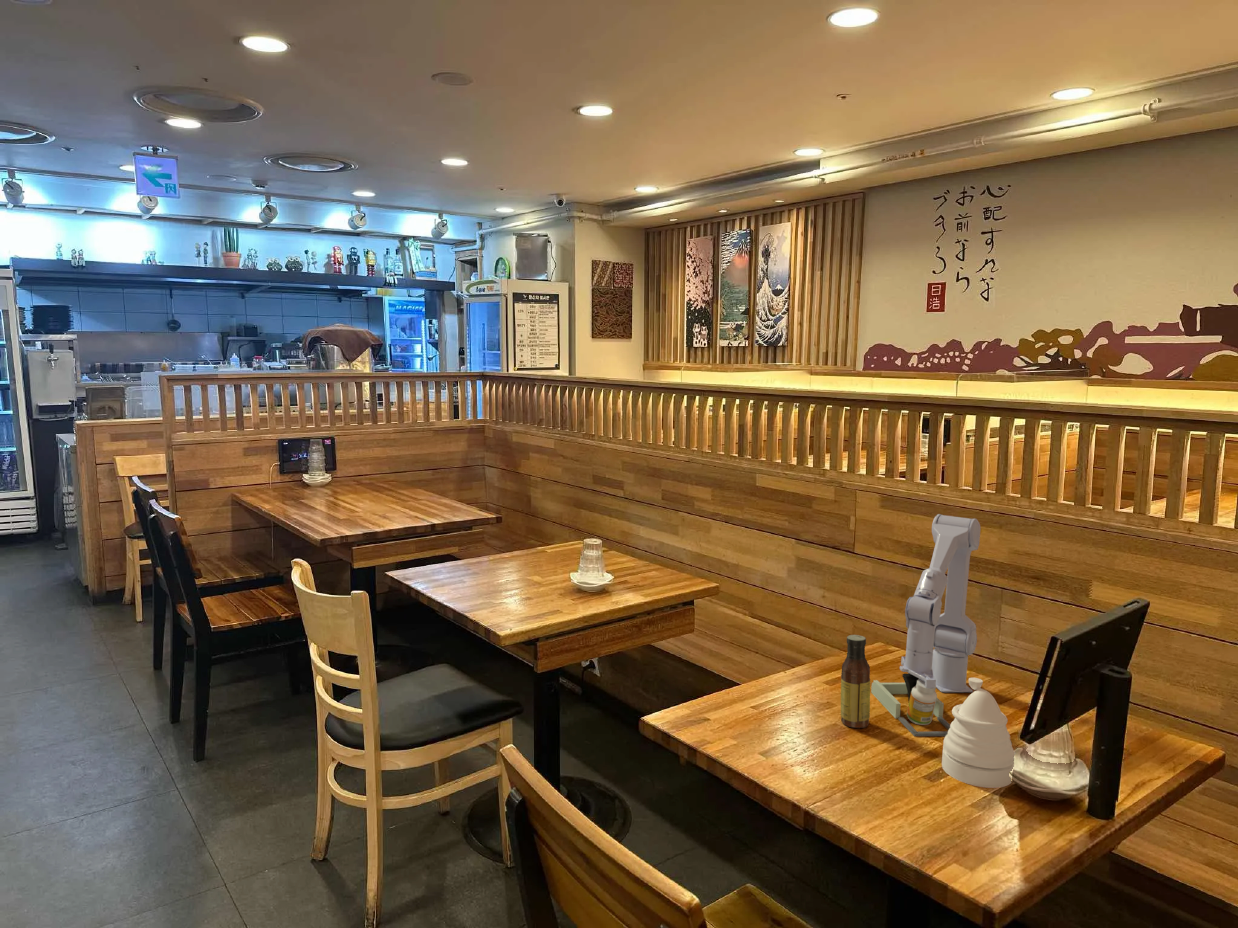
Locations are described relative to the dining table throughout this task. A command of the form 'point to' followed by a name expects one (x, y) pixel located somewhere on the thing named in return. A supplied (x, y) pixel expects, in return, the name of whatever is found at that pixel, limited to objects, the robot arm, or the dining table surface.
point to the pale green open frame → (890, 703)
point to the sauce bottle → (855, 684)
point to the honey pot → (978, 742)
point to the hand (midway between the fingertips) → (914, 706)
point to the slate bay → (926, 733)
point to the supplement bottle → (921, 704)
